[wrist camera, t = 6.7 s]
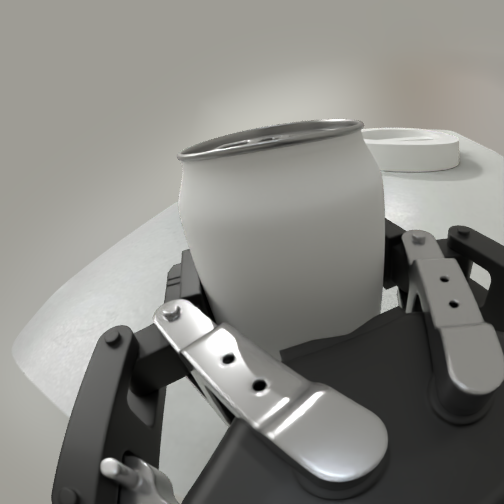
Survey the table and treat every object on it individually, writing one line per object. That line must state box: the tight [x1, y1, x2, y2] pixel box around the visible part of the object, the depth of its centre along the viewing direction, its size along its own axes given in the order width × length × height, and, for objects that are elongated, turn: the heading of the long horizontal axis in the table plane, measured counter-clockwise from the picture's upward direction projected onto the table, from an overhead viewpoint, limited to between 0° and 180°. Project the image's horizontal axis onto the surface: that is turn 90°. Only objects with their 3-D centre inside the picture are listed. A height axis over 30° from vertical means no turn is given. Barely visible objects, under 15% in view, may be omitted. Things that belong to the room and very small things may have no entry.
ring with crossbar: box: [361, 128, 459, 172], centre depth 50 cm, size 28×28×5 cm
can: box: [177, 119, 385, 361], centre depth 11 cm, size 6×6×12 cm
